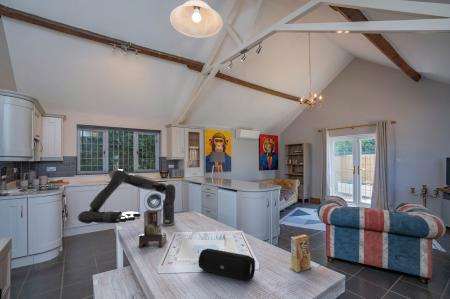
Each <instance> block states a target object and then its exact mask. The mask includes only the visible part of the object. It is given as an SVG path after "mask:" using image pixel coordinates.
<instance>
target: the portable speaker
mask: <svg viewBox="0 0 450 299" xmlns="http://www.w3.org/2000/svg"><path fill="white" fill-rule="evenodd" d="M197 261H198V262H197V264H198V267H199V268H200V269H201V270H203V272H209V273H213V274H216V275H221V276H224V277H225V276H226V277H230V278H234V279H239V280H243V281H250V280H253V278H254V276H255V270H256V261H255V258H254V257H252V256H250V255H248V254H241V253H236V252H231V251H225V250H219V249H214V248H204V249H202V250H201V251H200V253H199V256H198V260H197Z"/></svg>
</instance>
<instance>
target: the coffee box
mask: <svg viewBox="0 0 450 299" xmlns="http://www.w3.org/2000/svg"><path fill="white" fill-rule="evenodd" d="M161 233H162V209H147V210H145V211H144V212H143V235H158V234H161Z"/></svg>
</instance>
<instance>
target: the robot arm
mask: <svg viewBox="0 0 450 299" xmlns="http://www.w3.org/2000/svg"><path fill="white" fill-rule="evenodd" d="M108 176H109V179H110V181H109V182H108V183H107V185H106V186H105V187H104V188H103V189H102V190H101V191H99V192H98V193H97V194H96V195H95V196H94V198H93V200H92V201H91V202H90V203H89V209H88V210H83V211H81V212H79V213H78V216H77V220H78V221H79V223H82V224H87V225H88V224H89V225H90V224H92V223H96V224H120V223H126V222H131V221H132V222H133V221H135V220H136V218H140V217H141V212H136V211H126V212H122V211H121V210H108V211H100V210H101V209H102V207H103V206H104V205H105V203H106V202H107V201H108V199H109V198H110V197H111V195H112V194H113V193H114V192H115V191H116V190H118V188H119V187H120V186H121V185H122V184H123V183H124V184H128V185H131V186H133V187H135V188H138V189H140V190H141V189H142V190H146V191H154V192H158V193H160V194H163V195H164V199H163V200H162V226H165V227H169V226H173V225H175V200H176V186H175V185H174V184H172V183H166V182H165V183H164V182H159V181H156V180H155V179H153V178H150V177H147V176H144V175H139V174H132V173H129V172H126V171H125V170H123V169H119V168H115V169H112V170H111V171H110V172H109V175H108Z"/></svg>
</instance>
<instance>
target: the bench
mask: <svg viewBox="0 0 450 299" xmlns="http://www.w3.org/2000/svg"><path fill="white" fill-rule="evenodd" d="M153 242H154V243H155V242H158V248H163V247H164V245H165V243H166V242H167V233H166V232H164V233H162V232H161V234H158V235H144V234H139V235H138V248H142V249H143V247H145V245H146V244H147V243H153Z"/></svg>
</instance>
